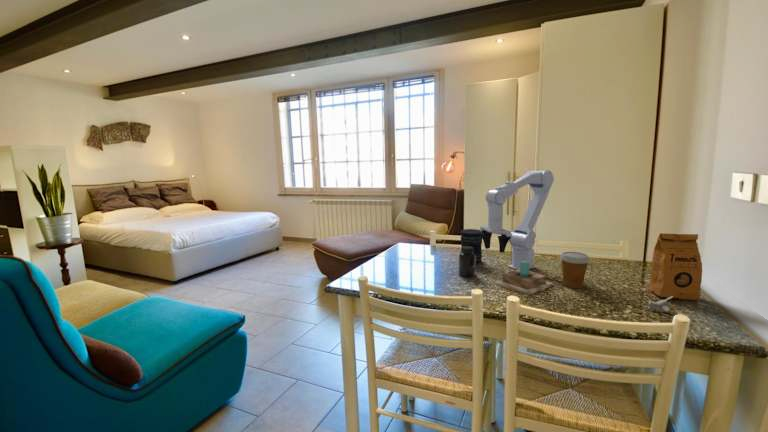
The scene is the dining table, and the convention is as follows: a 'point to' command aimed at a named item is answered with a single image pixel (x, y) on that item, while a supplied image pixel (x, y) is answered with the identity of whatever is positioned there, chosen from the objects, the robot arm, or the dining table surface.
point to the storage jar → (472, 242)
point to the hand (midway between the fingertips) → (494, 250)
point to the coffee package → (676, 267)
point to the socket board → (521, 290)
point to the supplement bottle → (467, 262)
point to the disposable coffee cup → (574, 268)
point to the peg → (524, 269)
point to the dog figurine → (660, 304)
